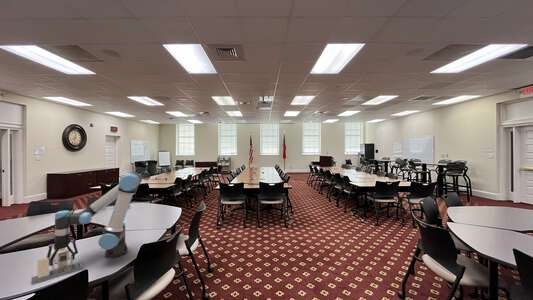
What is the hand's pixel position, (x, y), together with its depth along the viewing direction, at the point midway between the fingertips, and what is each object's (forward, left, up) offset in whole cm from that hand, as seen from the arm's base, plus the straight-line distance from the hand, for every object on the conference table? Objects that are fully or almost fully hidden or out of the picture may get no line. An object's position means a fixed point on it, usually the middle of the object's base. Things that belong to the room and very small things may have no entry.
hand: (62, 267), depth 156 cm
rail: (+3, +9, 0) cm, 9 cm away
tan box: (0, 0, 0) cm, 0 cm away
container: (0, -14, 0) cm, 14 cm away
